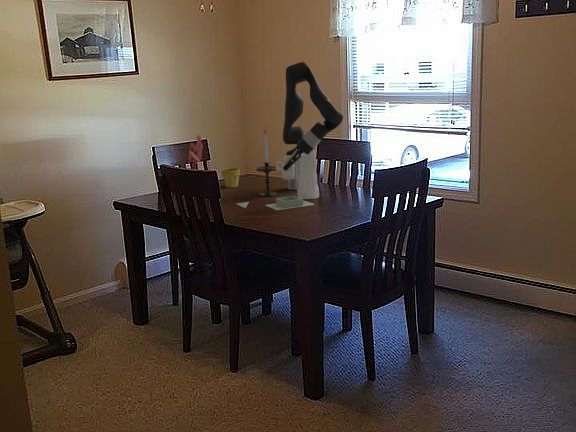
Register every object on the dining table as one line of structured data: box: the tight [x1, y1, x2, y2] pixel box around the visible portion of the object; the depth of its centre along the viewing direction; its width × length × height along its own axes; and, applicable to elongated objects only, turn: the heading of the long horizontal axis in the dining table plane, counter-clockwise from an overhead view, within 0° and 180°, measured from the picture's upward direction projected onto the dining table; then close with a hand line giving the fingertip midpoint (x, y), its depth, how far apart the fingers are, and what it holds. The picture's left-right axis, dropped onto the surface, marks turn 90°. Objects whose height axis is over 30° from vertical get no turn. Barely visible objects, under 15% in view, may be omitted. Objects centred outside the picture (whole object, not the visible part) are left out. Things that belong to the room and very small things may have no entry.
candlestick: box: [256, 128, 278, 198], centre depth 349 cm, size 11×11×35 cm
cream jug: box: [275, 155, 295, 180], centre depth 321 cm, size 9×6×10 cm
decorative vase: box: [296, 148, 320, 200], centre depth 338 cm, size 11×11×25 cm
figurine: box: [187, 133, 204, 171], centre depth 331 cm, size 15×26×35 cm, turn 13°
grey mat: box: [236, 201, 250, 209], centre depth 331 cm, size 13×11×1 cm
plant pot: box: [220, 167, 241, 188], centre depth 381 cm, size 10×10×10 cm
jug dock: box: [264, 195, 316, 211], centre depth 324 cm, size 20×14×4 cm
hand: (284, 168), depth 321 cm, fingers closed on cream jug, 6 cm apart
